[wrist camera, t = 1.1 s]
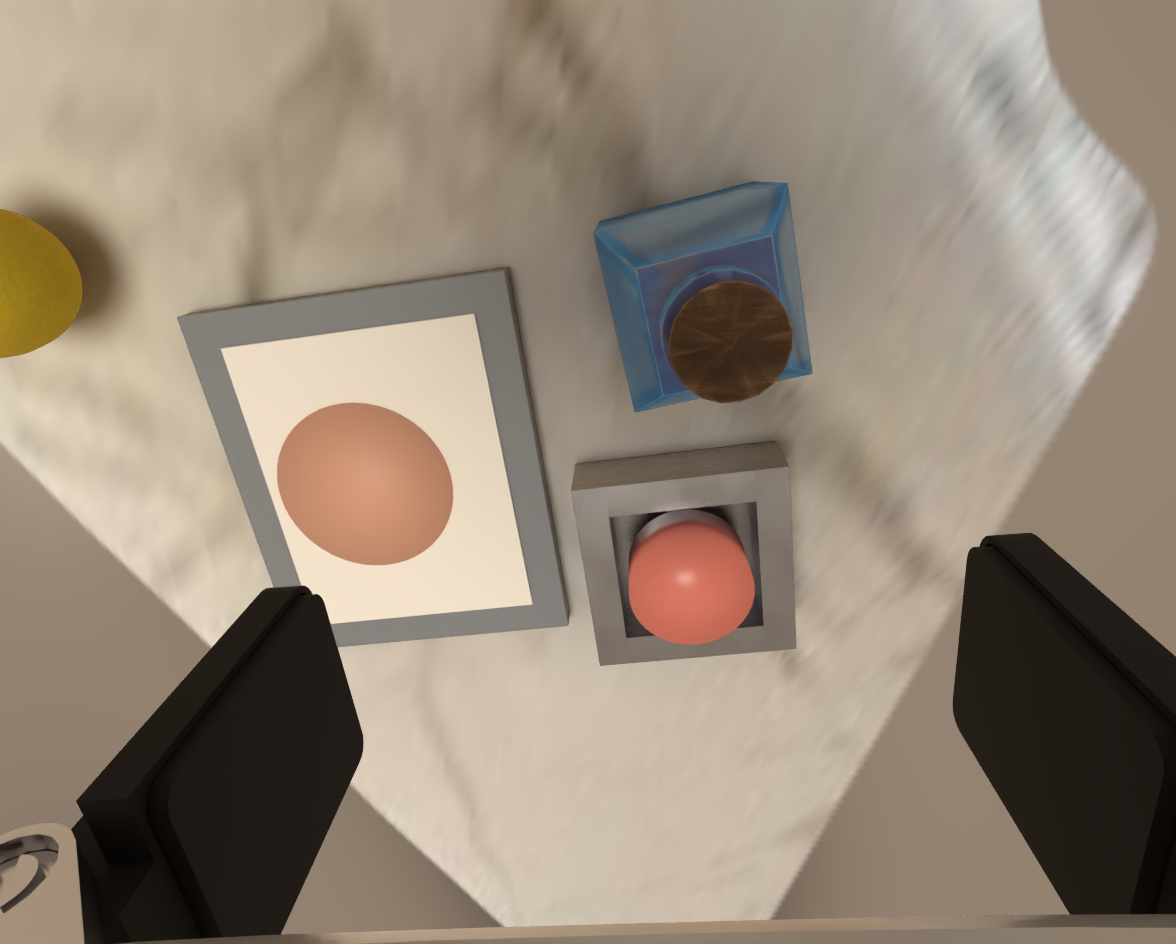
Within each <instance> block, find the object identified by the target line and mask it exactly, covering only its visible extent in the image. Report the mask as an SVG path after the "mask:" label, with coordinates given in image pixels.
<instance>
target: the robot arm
mask: <svg viewBox="0 0 1176 944" xmlns="http://www.w3.org/2000/svg"><path fill="white" fill-rule="evenodd" d="M953 713H954V717H955V721H956V724H957V727H958V728H959V731H960V733H961V734H962V736H963V737H964V739H965V741H966V742H967V744H968V746H969V747H970V749H971V751H972V752H973V754H974V756H975V757H976V759H977V761H978V762H979V764H980V766H981V767H982V769H983V771H984V772H985V774H986V776H987V777H988V779H989V781H990V782H991V784H992V786H993V787H994V789H995V790H996V792H997V794H998V795H999V797H1000V799H1001V800H1002V802H1003V804H1004V805H1005V807H1006V809H1007V811H1008V812H1009V814H1010V816H1011V817H1012V819H1013V821H1014V822H1015V824H1016V825H1017V827H1018V829H1019V830H1020V832H1021V834H1022V835H1023V837H1024V839H1025V840H1026V842H1027V843H1028V845H1029V847H1030V849H1031V850H1032V852H1033V854H1034V855H1035V857H1036V859H1037V860H1038V862H1039V864H1040V865H1041V867H1042V869H1043V870H1044V872H1045V874H1046V875H1047V877H1048V878H1049V880H1050V882H1051V883H1052V885H1053V887H1054V889H1055V890H1056V892H1057V893H1058V895H1059V897H1060V899H1061V900H1062V902H1063V904H1064V905H1065V907H1066V908H1067V910H1068V912H1069V913H1070V915H981V916H938V917H937V916H935V917H888V918H845V919H843V918H842V919H798V920H797V919H796V920H752V921H714V922H676V923H638V924H602V925H567V926H531V927H496V928H468V929H467V928H466V929H435V930H409V931H408V930H405V931H377V932H349V933H348V932H347V933H316V934H286V935H281V932H282V930H283V928H284V926H285V924H286V921H287V919H288V917H289V915H290V913H291V911H292V908H293V906H294V904H295V902H296V899H297V897H298V895H299V893H300V891H301V889H302V886H303V884H304V882H305V880H306V878H307V876H308V873H309V871H310V869H311V867H312V865H313V863H314V860H315V858H316V856H317V854H318V852H319V849H320V847H321V845H322V843H323V841H324V839H325V836H326V834H327V831H328V830H329V828H330V825H331V823H332V821H333V819H334V817H335V814H336V812H337V810H338V808H339V806H340V803H341V801H342V799H343V797H344V795H345V793H346V790H347V788H348V786H349V784H350V782H351V780H352V777H353V775H354V773H355V771H356V769H357V767H358V764H359V762H360V760H361V757H362V752H363V734H362V730H361V727H360V723H359V720H358V716H357V713H356V709H355V706H354V703H353V699H352V696H351V692H350V689H349V685H348V682H347V679H346V675H345V672H344V668H343V665H342V661H341V658H340V655H339V651H338V648H337V644H336V641H335V637H334V634H333V631H332V627H331V624H330V620H329V617H328V613H327V610H326V607H325V603H324V601H323V599H322V597H321V596H320V595H318V594H312V592H311V590H310V589H309V588H308V587H306V586H304V585H303V586H289V587H275V588H266V589H264V590H263V591H262V592H261V593H260V594H259V595H258V596H257V597H256V598H255V599H254V601H253V602H252V603H251V604H250V605H249V606H248V607H247V609H246V610H245V611H244V612H243V613H242V614H241V615H240V616H239V618H238V619H237V620H236V621H235V622H234V623H233V624H232V625H231V627H230V628H229V629H228V630H227V631H226V632H225V633H224V635H223V636H222V637H221V638H220V639H219V640H218V641H217V642H216V644H215V645H214V646H213V647H212V648H211V649H210V650H209V651H208V653H207V654H206V655H205V656H204V657H203V658H202V659H201V661H200V662H199V663H198V664H197V665H196V666H195V667H194V669H193V670H192V671H191V672H190V673H189V674H188V675H187V676H186V677H185V679H184V680H183V681H182V682H181V683H180V684H179V686H178V687H177V688H176V689H175V690H174V691H173V692H172V693H171V694H170V696H169V697H168V698H167V699H166V700H165V701H164V702H163V703H162V705H161V706H160V707H159V708H158V709H157V710H156V711H155V713H154V714H153V715H152V716H151V717H150V718H149V719H148V720H147V722H146V723H145V724H144V725H143V726H142V727H141V728H140V730H139V731H138V732H137V733H136V734H135V735H134V736H133V737H132V739H131V740H130V741H129V742H128V743H127V744H126V745H125V746H124V748H123V749H122V750H121V751H120V752H119V753H118V754H117V755H116V757H115V758H114V759H113V760H112V761H111V762H110V763H109V765H108V766H107V767H106V768H105V769H104V770H103V771H102V772H101V774H100V775H99V776H98V777H97V778H96V779H95V780H94V781H93V783H92V784H91V785H90V786H89V787H88V788H87V789H86V791H85V792H84V793H83V794H82V795H81V796H80V797H79V798H78V800H77V801H76V802H77V804H78V805H79V808H80V810H81V812H82V813H83V817H82V818H81V819H80V820H79V821H78V822H77V823H76V825H75V826H74V827H73V828H72V829H69V828H67V827H65V826H63V825H61V824H55V823H53V824H52V823H40V824H35V825H31V826H26V827H21V828H19V829H16V830H14V831H11V832H9V833H6V834H3V835H1V836H0V944H1176V657H1175V656H1174V655H1173V654H1172V653H1171V652H1169V651H1168V650H1167V649H1166V648H1165V647H1164V646H1162V644H1160V643H1159V642H1158V641H1157V640H1156V639H1155V638H1154V637H1152V636H1151V635H1150V634H1149V633H1148V632H1147V631H1146V630H1144V629H1143V628H1142V627H1141V626H1140V625H1139V624H1137V623H1136V622H1135V621H1134V620H1133V619H1132V618H1131V617H1129V616H1128V615H1127V614H1126V613H1125V612H1124V611H1122V610H1121V609H1120V608H1119V607H1118V606H1117V605H1116V604H1114V603H1113V602H1112V601H1111V600H1110V599H1109V598H1107V597H1106V596H1105V595H1104V594H1103V593H1102V592H1101V591H1100V590H1098V589H1097V588H1096V587H1095V586H1094V585H1092V583H1090V582H1089V581H1088V580H1087V579H1086V578H1085V577H1083V576H1082V575H1081V574H1080V573H1079V572H1078V571H1077V570H1075V569H1074V568H1073V567H1072V566H1071V565H1070V564H1069V563H1067V562H1066V561H1065V560H1064V559H1063V558H1062V557H1060V556H1059V555H1058V554H1057V553H1056V552H1055V551H1054V550H1053V549H1051V548H1050V547H1049V546H1048V545H1047V544H1046V543H1044V542H1043V541H1042V540H1041V539H1040V538H1039V537H1038V536H1036V535H1034V534H1032V533H1021V534H1008V535H993V536H986V537H985V538H983V540H982V542H981V544H980V547H973V548H971V549H970V551H969V553H968V557H967V564H966V574H965V584H964V594H963V604H962V614H961V625H960V635H959V645H958V656H957V664H956V674H955V684H954V694H953Z"/></svg>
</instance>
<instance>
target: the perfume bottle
mask: <svg viewBox="0 0 1176 944" xmlns="http://www.w3.org/2000/svg"><path fill="white" fill-rule="evenodd" d="M593 234H594V238H595V242H596V247H597V251H598V255H599V260H600V264H601V268H602V273H603V277H604V281H605V286H606V290H607V294H608V299H609V303H610V307H611V312H612V316H613V320H614V325H615V329H616V333H617V338H618V342H619V346H620V351H621V355H622V359H623V364H624V368H625V372H626V376H627V381H628V385H629V389H630V394H631V398H632V402H633V407H634V411H635V412H639V411H644V410H648V409H653V408H658V407H662V406H667V405H671V404H676V403H680V402H685V401H690V400H694V399H699V398H703V399H707V400H711V401H715V402H719V403H730V402H741V401H744V400H746V399H749V398H752V397H754V396H757V395H759V394H760V393H762V392H763V391H764V390H766V389H767V388H768V387H770V386H771V385H772V384H774V383H775V382H776V381H781V380H785V379H790V378H794V377H799V376H804V375H808V374H812V366H811V358H810V351H809V343H808V335H807V328H806V320H805V312H804V305H803V297H802V290H801V282H800V274H799V267H798V259H797V251H796V244H795V236H794V228H793V221H792V213H791V205H790V198H789V190H788V183H772V182H755V181H754V182H750V183H746V184H742V185H738V186H735V187H731V188H727V189H723V190H719V191H715V192H711V193H707V194H703V195H700V196H696V197H692V198H688V199H684V200H680V201H676V202H672V203H669V204H665V205H661V206H657V207H653V208H649V209H645V210H641V211H637V212H634V213H630V214H626V215H622V216H618V217H614V218H610V219H606V220H603V221H599V223H598V225H597V227H596V229H595V231H594V233H593Z"/></svg>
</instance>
